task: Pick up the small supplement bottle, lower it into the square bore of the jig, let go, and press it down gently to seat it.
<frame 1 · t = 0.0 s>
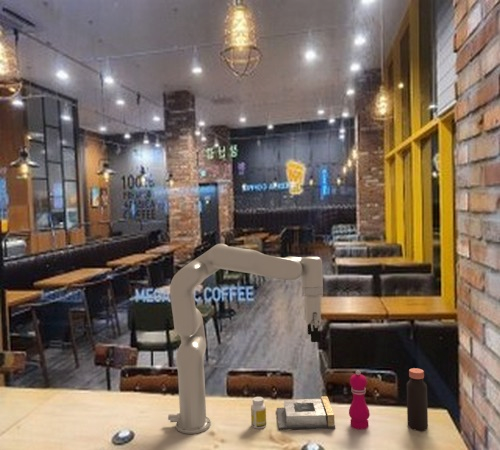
hand: (313, 337, 165), 31 cm above the table, tool pointing down, fingers open, 9 cm apart
jig: (304, 419, 170), on the table
pepper mill: (359, 425, 163), on the table
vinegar: (417, 427, 161), on the table
supplement bottle: (258, 426, 166), on the table
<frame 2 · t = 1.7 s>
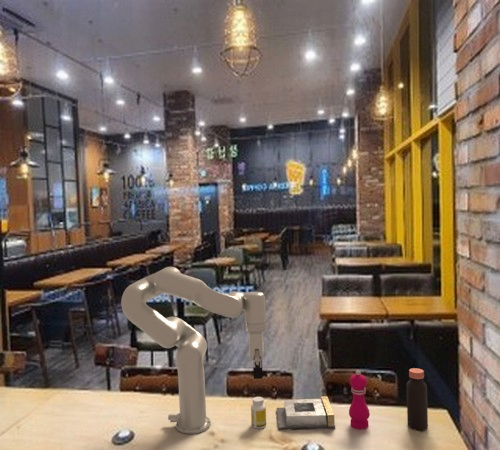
hand: (258, 373, 165), 19 cm above the table, tool pointing down, fingers open, 9 cm apart
nothing on the table moved.
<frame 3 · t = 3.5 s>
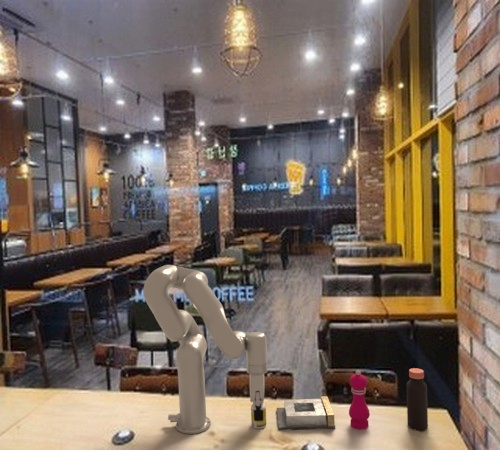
hand: (258, 416, 166), 4 cm above the table, tool pointing down, fingers closed on supplement bottle, 5 cm apart
supplement bottle: (259, 426, 166), on the table, touching gripper
everything else where it was.
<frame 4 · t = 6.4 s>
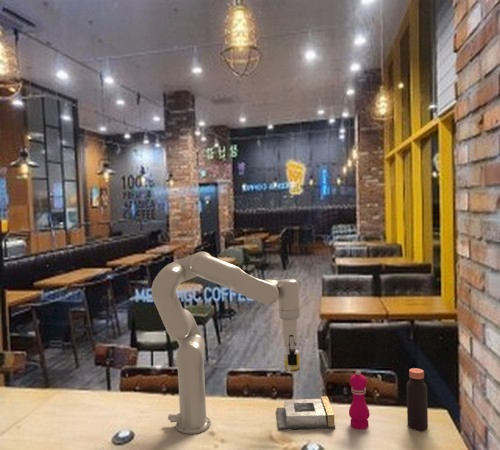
hand: (291, 361, 168), 22 cm above the table, tool pointing down, fingers closed on supplement bottle, 5 cm apart
supplement bottle: (292, 371, 168), point 18 cm above the table, touching gripper
everything else where it was.
when the fingers open (6 cm above the table, at t = 9.6 s): supplement bottle drops 1 cm, resting on jig.
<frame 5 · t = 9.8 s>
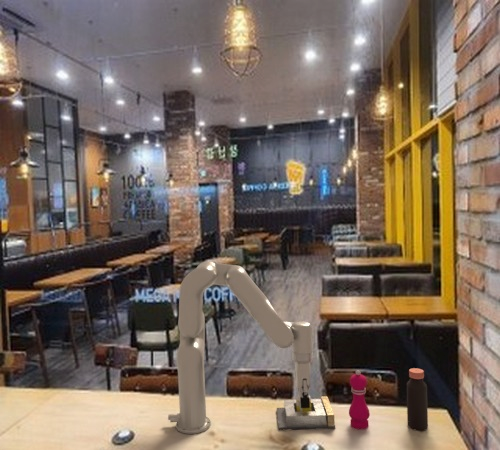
hand: (304, 402, 169), 6 cm above the table, tool pointing down, fingers open, 7 cm apart
supplement bottle: (304, 416, 170), point 1 cm above the table, touching jig
everything else where it was.
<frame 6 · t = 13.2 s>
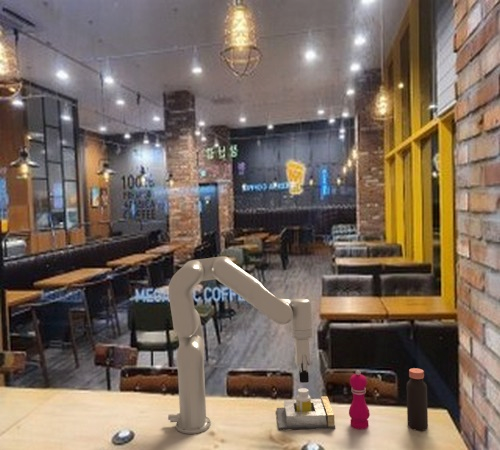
hand: (304, 381, 169), 14 cm above the table, tool pointing down, fingers closed
nothing on the table moved.
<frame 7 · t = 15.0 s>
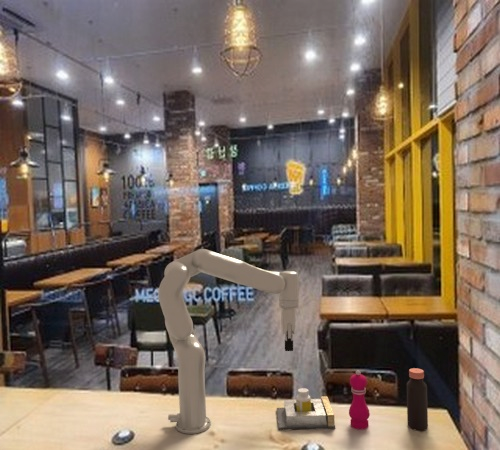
hand: (289, 350, 177), 23 cm above the table, tool pointing down, fingers closed
nothing on the table moved.
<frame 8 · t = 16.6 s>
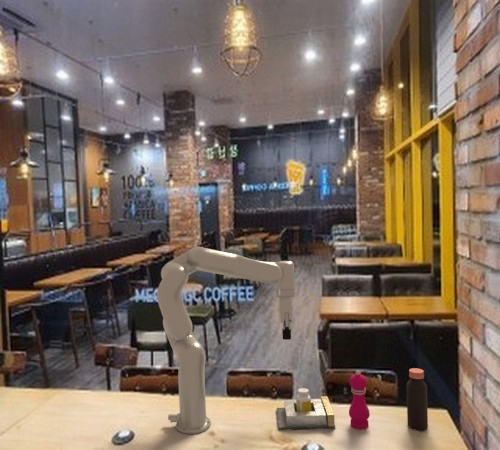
hand: (286, 338, 180), 27 cm above the table, tool pointing down, fingers closed
nothing on the table moved.
at the end: supplement bottle 0.2 cm off-centre on the jig, point 0.8 cm above the jig's base; supplement bottle tilted 0°; the gripper is holding nothing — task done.
